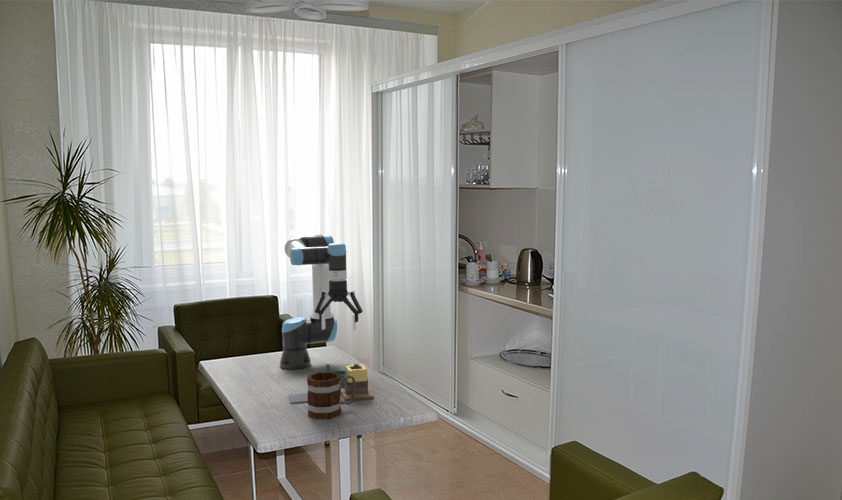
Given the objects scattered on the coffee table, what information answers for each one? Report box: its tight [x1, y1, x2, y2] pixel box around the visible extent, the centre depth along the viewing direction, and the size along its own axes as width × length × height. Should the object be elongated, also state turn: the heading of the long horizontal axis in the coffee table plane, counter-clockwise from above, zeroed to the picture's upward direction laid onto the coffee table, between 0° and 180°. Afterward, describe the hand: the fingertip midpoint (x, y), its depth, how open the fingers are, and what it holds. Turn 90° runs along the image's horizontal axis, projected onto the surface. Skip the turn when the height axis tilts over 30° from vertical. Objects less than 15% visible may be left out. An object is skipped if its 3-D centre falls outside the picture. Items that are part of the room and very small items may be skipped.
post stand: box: [340, 363, 375, 402], centre depth 282 cm, size 14×12×13 cm
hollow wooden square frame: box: [344, 363, 368, 382], centre depth 281 cm, size 8×8×5 cm
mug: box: [306, 371, 356, 420], centre depth 261 cm, size 20×14×15 cm
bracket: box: [325, 363, 350, 388], centre depth 298 cm, size 9×9×9 cm
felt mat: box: [288, 392, 308, 405], centre depth 278 cm, size 10×10×1 cm
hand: (339, 329), depth 281 cm, fingers open, 13 cm apart
